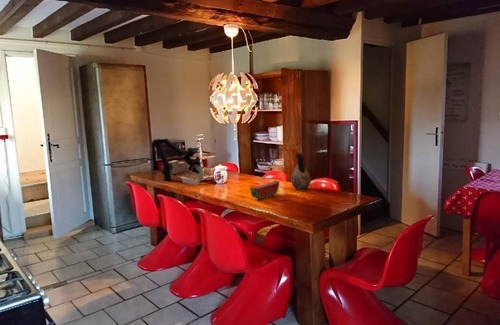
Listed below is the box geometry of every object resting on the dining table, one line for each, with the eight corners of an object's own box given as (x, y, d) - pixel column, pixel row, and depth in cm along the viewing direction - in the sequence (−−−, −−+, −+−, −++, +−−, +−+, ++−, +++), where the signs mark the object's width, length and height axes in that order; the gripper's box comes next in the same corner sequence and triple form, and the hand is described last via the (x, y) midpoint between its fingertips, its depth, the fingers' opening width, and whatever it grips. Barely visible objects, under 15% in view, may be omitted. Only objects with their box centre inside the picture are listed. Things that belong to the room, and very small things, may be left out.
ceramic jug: (289, 187, 298) (288, 151, 293) (308, 186, 299) (307, 149, 294) (293, 193, 282) (293, 154, 276) (313, 192, 283) (313, 153, 277)
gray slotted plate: (201, 181, 333) (200, 167, 330) (198, 181, 334) (197, 167, 331) (203, 179, 338) (202, 165, 336) (200, 179, 339) (199, 165, 337)
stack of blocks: (182, 170, 387) (181, 158, 384) (186, 170, 383) (185, 159, 380) (166, 174, 370) (165, 162, 368) (170, 174, 366) (169, 162, 364)
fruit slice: (255, 202, 263) (255, 188, 261) (249, 200, 267) (249, 187, 266) (280, 194, 281) (279, 181, 279) (274, 192, 285) (273, 180, 283)
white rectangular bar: (182, 182, 331) (182, 178, 331) (184, 182, 333) (184, 177, 332) (197, 184, 321) (197, 180, 320) (199, 184, 323) (199, 179, 322)
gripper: (190, 156, 324) (202, 168, 323) (198, 152, 341) (210, 164, 341) (182, 164, 327) (195, 177, 326) (190, 160, 345) (202, 172, 344)
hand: (201, 172), depth 334 cm, fingers open, 9 cm apart
